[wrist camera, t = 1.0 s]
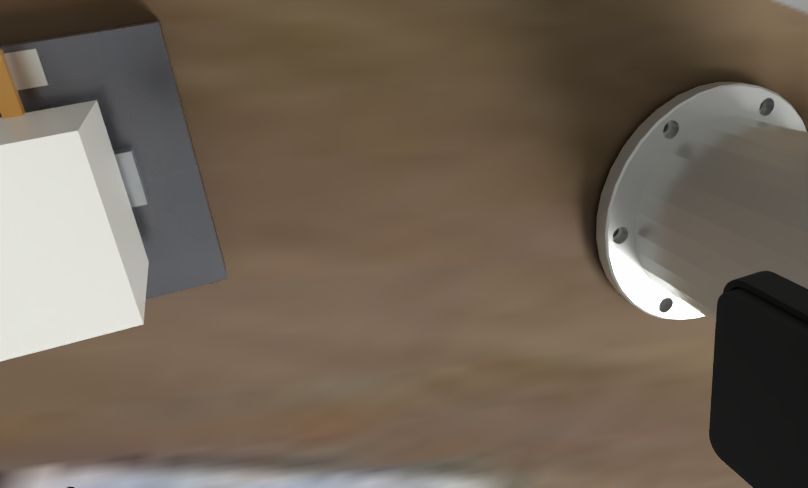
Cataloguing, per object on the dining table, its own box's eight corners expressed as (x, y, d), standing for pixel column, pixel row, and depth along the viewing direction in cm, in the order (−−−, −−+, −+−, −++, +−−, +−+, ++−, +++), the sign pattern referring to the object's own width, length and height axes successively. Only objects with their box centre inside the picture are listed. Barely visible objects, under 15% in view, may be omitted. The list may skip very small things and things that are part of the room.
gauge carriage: (76, 37, 21) (51, 53, 17) (148, 261, 25) (143, 324, 20) (-98, 65, 20) (-175, 90, 16) (1, 297, 23) (-39, 371, 19)
